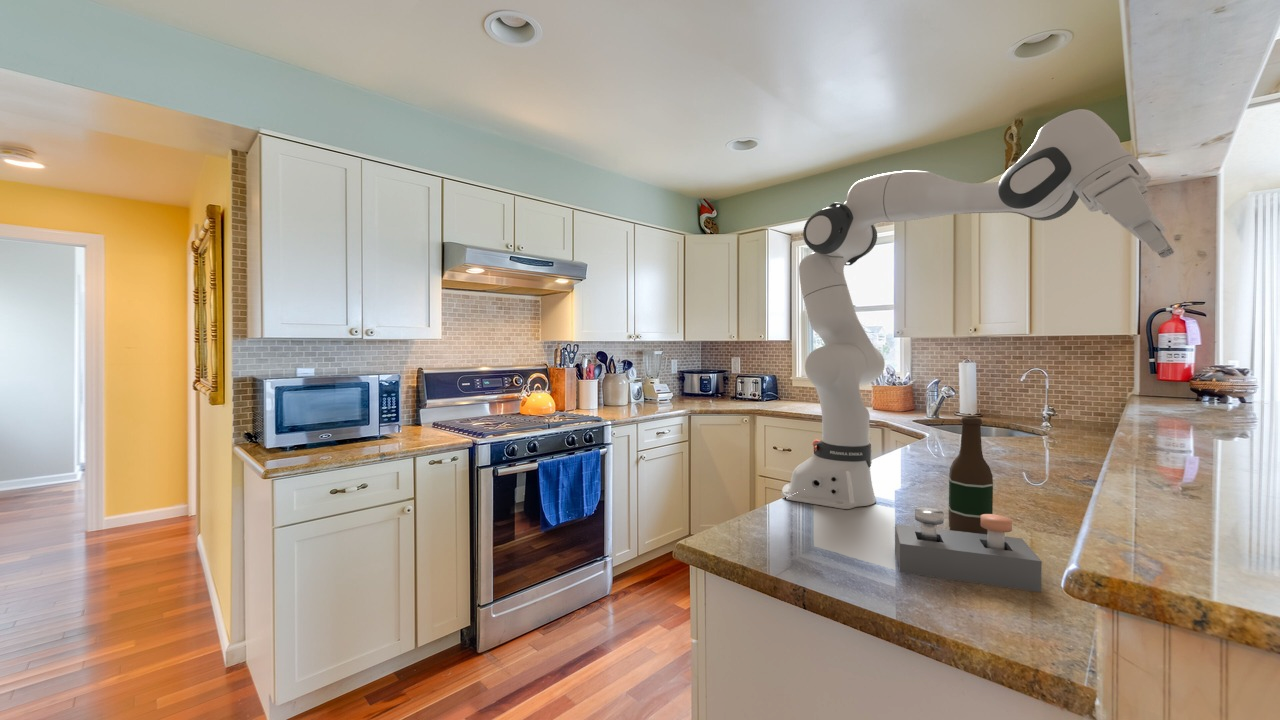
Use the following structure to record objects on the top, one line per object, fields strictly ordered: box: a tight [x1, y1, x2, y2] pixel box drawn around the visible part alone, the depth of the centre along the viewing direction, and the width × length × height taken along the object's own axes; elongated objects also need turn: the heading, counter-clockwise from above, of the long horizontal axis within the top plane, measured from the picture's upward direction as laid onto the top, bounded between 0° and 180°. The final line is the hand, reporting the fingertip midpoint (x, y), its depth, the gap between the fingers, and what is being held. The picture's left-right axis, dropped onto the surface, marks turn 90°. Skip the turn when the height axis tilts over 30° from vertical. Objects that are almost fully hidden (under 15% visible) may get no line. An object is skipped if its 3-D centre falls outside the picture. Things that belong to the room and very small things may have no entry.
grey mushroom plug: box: [914, 506, 945, 542], centre depth 91 cm, size 4×4×6 cm
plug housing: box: [894, 523, 1043, 593], centre depth 90 cm, size 20×10×5 cm, turn 68°
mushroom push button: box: [981, 513, 1013, 550], centre depth 88 cm, size 4×4×6 cm
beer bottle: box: [948, 415, 994, 534], centre depth 106 cm, size 8×8×24 cm
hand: (1165, 252), depth 85 cm, fingers open, 8 cm apart
